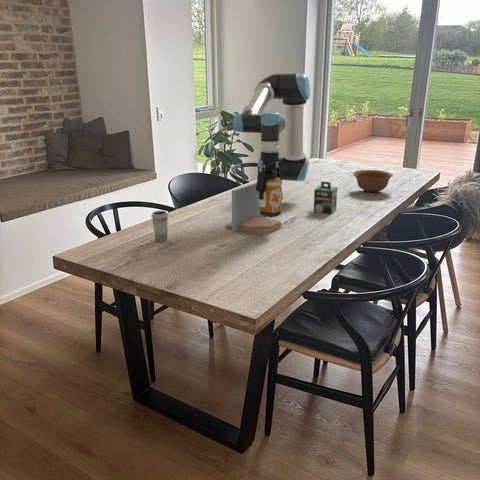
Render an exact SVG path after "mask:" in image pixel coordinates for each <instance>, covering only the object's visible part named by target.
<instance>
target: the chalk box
mask: <svg viewBox="0 0 480 480" xmlns="http://www.w3.org/2000/svg"><path fill="white" fill-rule="evenodd" d="M337 194H338V187H337V186H331V182H330V181H329V182H328V181H321V183H320V185H319V186H317V187H316V188H315V189H314V195H313V198H314V199H313V212H314V213H321V214H327V215H328V214H329V215H331V214H333V213H334V212H335V211H336V210H337V205H338V204H337V200H338V195H337Z"/></svg>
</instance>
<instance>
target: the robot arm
mask: <svg viewBox="0 0 480 480" xmlns="http://www.w3.org/2000/svg"><path fill="white" fill-rule="evenodd" d="M310 97H311V85H310V80H309V77H308V75H306V74H305V73H304V74H303V73H273V74H270V75H268V76H267V77H264V78H263V79H261V80H260V81H259V82H258V83H257V85H256V86H255V88H254V94H253V95H252V97H251V99H250V100H249V102H248V104H247V106H246V108H245V109H244V111H243V112H242V113H238V114H237V113H236V114H234V115H233V119H232V127H233V131H234V132H236V133H246V134H247V133H251V134H252V133H255V134H256V133H257V134H260V151H261V152H260V156H259V158H258V160H257V161H258V162H257V178H256V183H257V185H256V191H259V206H260V207H266V192H265V188H266V184H267V180H268V177H269V176H270V174H271V170H277V172H278V173H279V174H278V175H277V176H276V177H278V178H280V180H281V185H283V184H282V182H283V181H293V182H303V181H305V180H306V178H307V174H308V171H309V167H310V166H309V165H310V159H308V158H307V155H306V153H305V152H304V106H305V105H306V104H307V100H310ZM272 100H281V101H282V104H283V106H284V107H285V117H284V115H282V114H280V113H279V112H277V111H266V112H265V111H264V110H265V109H266V107H267V105H268V104H269V103H270V102H271V101H272ZM284 130H285V145H286V149H285V153H284V154H283V156H281V155H280V152H279V150H280V133H282V132H283V131H284ZM283 194H284V193H282V198H283Z"/></svg>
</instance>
